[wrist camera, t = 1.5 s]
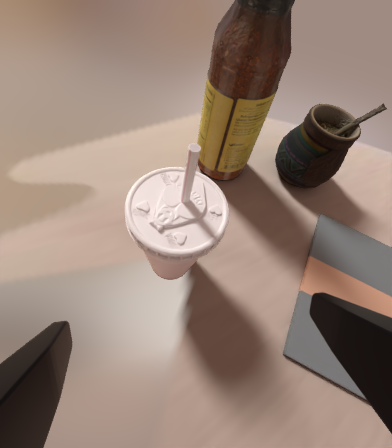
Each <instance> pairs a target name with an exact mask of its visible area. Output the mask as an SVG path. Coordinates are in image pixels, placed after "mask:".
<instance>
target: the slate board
mask: <svg viewBox="0 0 392 448" xmlns="http://www.w3.org/2000/svg"><path fill="white" fill-rule="evenodd" d="M320 292H324V293H327V294H330V295H333V296H335V297H338V298H341V299H343V300H346V301H349V302H351V303H354V304H356V305H359V306H362V307H364V308H367V309H370V310H372V311H375V312H378V313H380V314H383V315H386V316H388V317H391V318H392V247H389V246H387V245H385V244H383V243H381V242H379V241H377V240H375V239H373V238H371V237H369V236H367V235H365V234H363V233H360V232H358V231H356V230H354V229H352V228H350V227H348V226H346V225H344V224H342V223H340V222H338V221H336V220H333V219H331V218H329V217H327V216H325V215H323V214H320V215H319V218H318V222H317V225H316V229H315V233H314V237H313V241H312V244H311V248H310V252H309V256H308V260H307V264H306V267H305V271H304V275H303V279H302V283H301V286H300V290H299V294H298V298H297V302H296V305H295V309H294V313H293V317H292V321H291V324H290V328H289V332H288V336H287V340H286V343H285V347H284V351H283V355H285V356H287V357H289V358H291V359H292V360H294V361H296V362H298V363H300V364H301V365H303V366H305V367H307V368H309V369H311V370H312V371H314V372H316V373H318V374H320V375H321V376H323V377H325V378H327V379H329V380H330V381H332V382H334V383H336V384H338V385H339V386H341V387H343V388H345V389H347V390H348V391H350V392H352V393H354V394H356V395H357V396H359V397H361V398H363V399H365V400H366V401H367V399H366V398H365V397H364V395H363V394H362V392H361V391H360V390H359V388H358V387H357V386H356V384H355V383H354V382H353V380H352V379H351V377H350V376H349V375H348V373H347V372H346V371H345V369H344V368H343V367H342V365H341V364H340V362H339V361H338V360H337V358H336V357H335V355H334V354H333V353H332V351H331V349H330V348H329V346H328V345H327V343H326V341H325V340H324V338H323V336H322V335H321V333H320V331H319V330H318V328H317V327H316V325H315V323H314V322H313V320H312V318H311V316H310V313H309V309H310V304H311V299H312V295H313V294H314V293H320Z"/></svg>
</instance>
